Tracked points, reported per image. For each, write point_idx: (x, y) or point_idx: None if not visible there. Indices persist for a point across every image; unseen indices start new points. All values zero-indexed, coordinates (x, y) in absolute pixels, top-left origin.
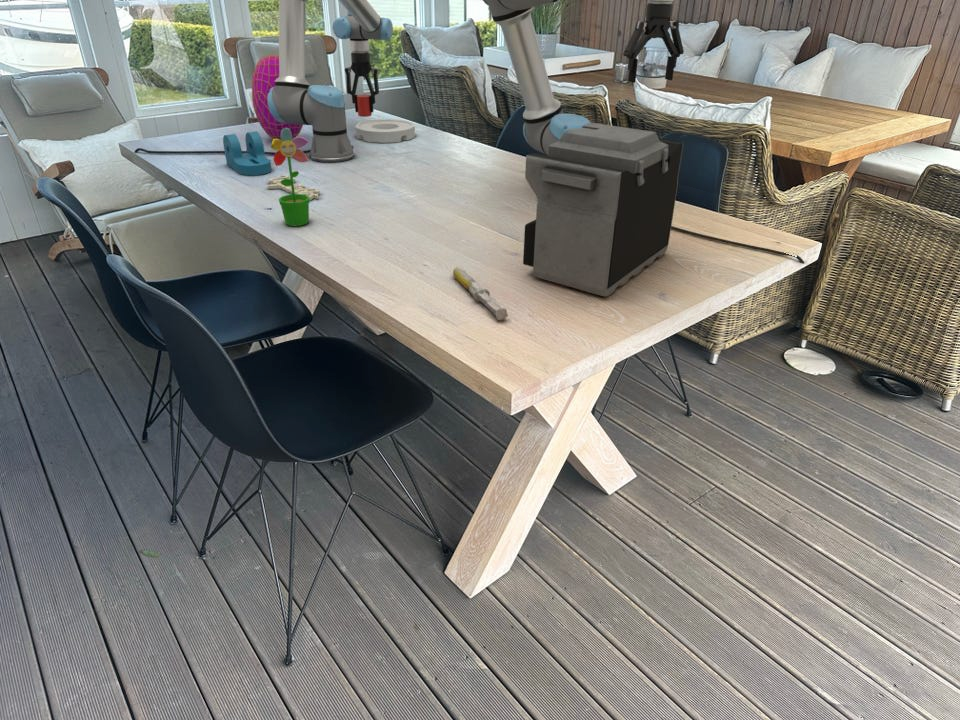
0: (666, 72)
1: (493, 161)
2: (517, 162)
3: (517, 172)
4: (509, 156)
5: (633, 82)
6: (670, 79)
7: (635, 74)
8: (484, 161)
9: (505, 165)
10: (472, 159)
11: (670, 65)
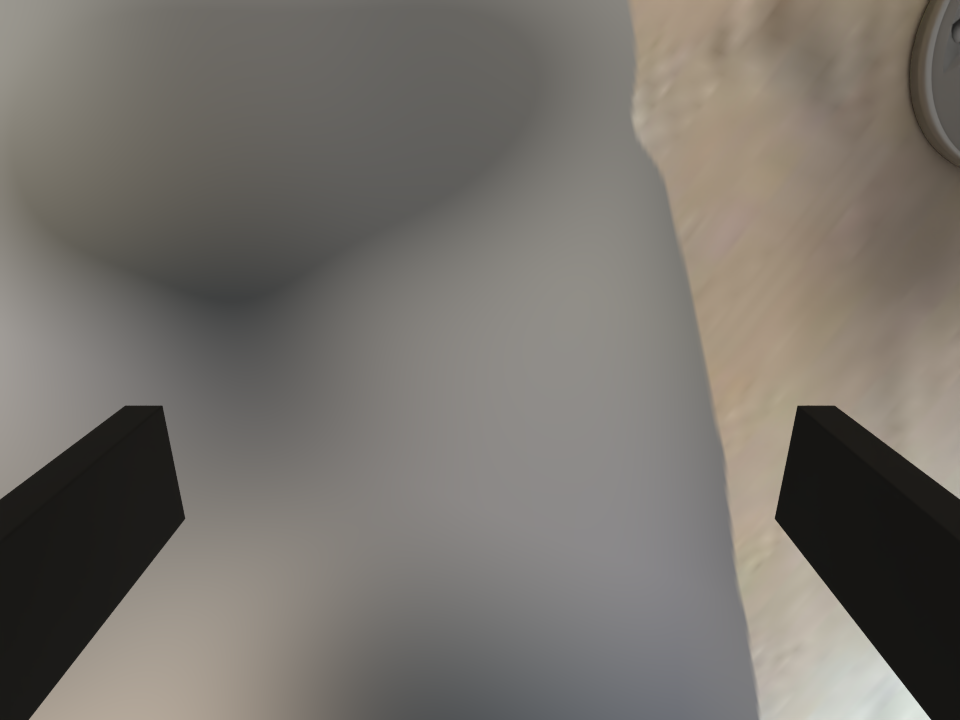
0: (133, 564)
1: (877, 651)
2: (804, 613)
3: None
4: (775, 687)
5: (830, 407)
6: (154, 409)
7: (881, 463)
8: None
9: None
10: None
11: (28, 585)
